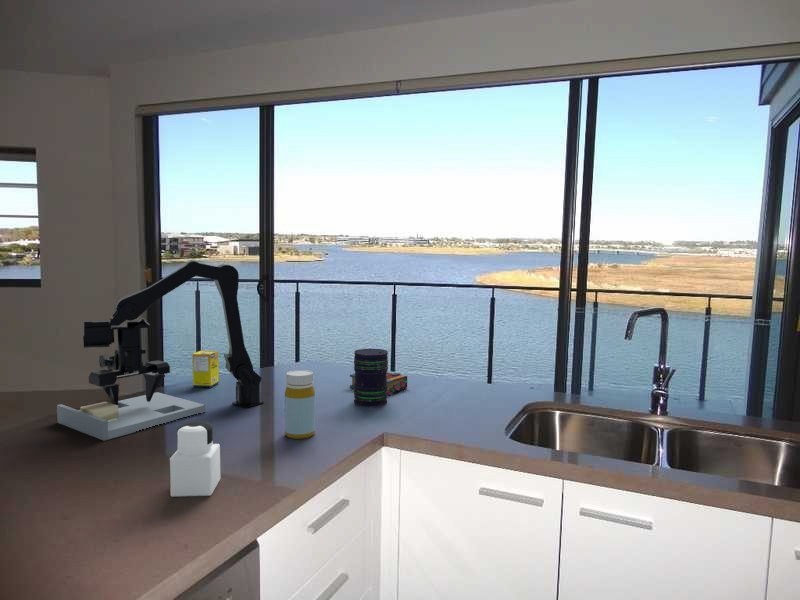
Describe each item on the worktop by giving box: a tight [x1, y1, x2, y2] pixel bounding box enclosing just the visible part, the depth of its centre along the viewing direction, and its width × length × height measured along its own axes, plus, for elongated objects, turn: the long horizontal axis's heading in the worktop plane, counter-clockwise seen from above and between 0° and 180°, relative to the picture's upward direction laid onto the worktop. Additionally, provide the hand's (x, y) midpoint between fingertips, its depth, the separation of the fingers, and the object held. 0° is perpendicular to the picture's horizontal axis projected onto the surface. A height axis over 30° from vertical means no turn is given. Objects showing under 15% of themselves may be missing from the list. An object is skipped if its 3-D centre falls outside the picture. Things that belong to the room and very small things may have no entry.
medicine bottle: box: [169, 420, 221, 498], centre depth 99 cm, size 7×7×12 cm
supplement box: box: [191, 350, 220, 389], centre depth 173 cm, size 6×6×11 cm
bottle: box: [284, 369, 316, 440], centre depth 128 cm, size 7×7×15 cm
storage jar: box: [353, 348, 389, 408], centre depth 156 cm, size 10×10×15 cm
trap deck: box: [56, 391, 206, 442], centre depth 140 cm, size 22×27×4 cm
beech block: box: [79, 401, 118, 420], centre depth 133 cm, size 6×6×3 cm
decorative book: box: [349, 371, 408, 396], centre depth 173 cm, size 11×16×5 cm
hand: (132, 405), depth 140 cm, fingers open, 8 cm apart
